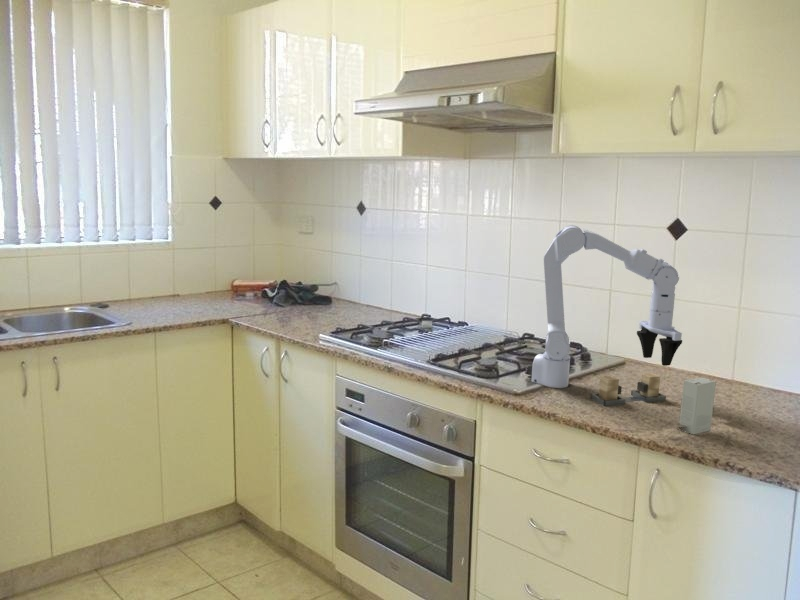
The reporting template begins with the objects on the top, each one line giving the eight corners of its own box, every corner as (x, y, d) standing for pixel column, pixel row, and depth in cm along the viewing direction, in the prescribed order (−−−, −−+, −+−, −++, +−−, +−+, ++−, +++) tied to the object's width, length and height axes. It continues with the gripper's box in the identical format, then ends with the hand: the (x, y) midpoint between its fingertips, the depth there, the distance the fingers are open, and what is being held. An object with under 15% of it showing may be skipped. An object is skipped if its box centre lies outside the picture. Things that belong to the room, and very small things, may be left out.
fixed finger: (605, 403, 176) (607, 380, 175) (598, 399, 179) (600, 376, 178) (621, 402, 177) (623, 379, 176) (613, 398, 180) (615, 375, 179)
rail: (603, 411, 174) (604, 401, 174) (590, 403, 180) (591, 393, 180) (664, 406, 180) (665, 396, 179) (650, 398, 186) (650, 389, 185)
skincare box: (695, 425, 167) (700, 375, 164) (711, 431, 163) (717, 381, 160) (677, 429, 164) (682, 378, 161) (693, 435, 160) (698, 384, 158)
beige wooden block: (650, 395, 184) (652, 373, 183) (658, 399, 181) (660, 376, 180) (635, 396, 182) (637, 374, 181) (643, 400, 179) (645, 377, 178)
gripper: (693, 315, 177) (688, 367, 179) (656, 304, 190) (651, 353, 193) (670, 316, 175) (664, 369, 177) (634, 305, 188) (629, 354, 191)
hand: (656, 361), depth 185 cm, fingers open, 7 cm apart
